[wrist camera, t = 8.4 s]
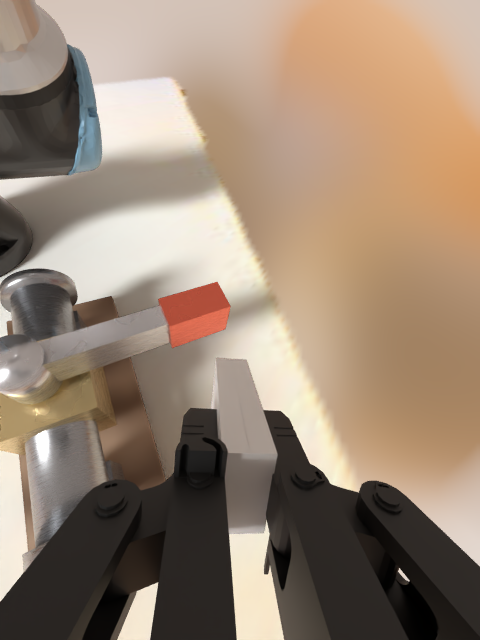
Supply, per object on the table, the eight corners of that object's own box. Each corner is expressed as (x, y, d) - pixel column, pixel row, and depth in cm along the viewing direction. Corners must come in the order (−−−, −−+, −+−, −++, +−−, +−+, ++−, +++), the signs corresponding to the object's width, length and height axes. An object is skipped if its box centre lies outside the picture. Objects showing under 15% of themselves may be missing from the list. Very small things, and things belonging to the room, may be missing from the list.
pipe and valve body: (32, 332, 34) (-23, 276, 25) (95, 315, 37) (65, 259, 28) (63, 556, 25) (-7, 593, 16) (144, 514, 27) (123, 527, 18)
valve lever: (12, 412, 20) (-24, 397, 17) (6, 368, 22) (-28, 345, 18) (227, 334, 26) (233, 310, 23) (211, 303, 27) (214, 276, 24)
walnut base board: (15, 329, 36) (6, 321, 34) (114, 304, 40) (111, 295, 38) (44, 599, 25) (33, 607, 23) (179, 526, 29) (178, 529, 27)
